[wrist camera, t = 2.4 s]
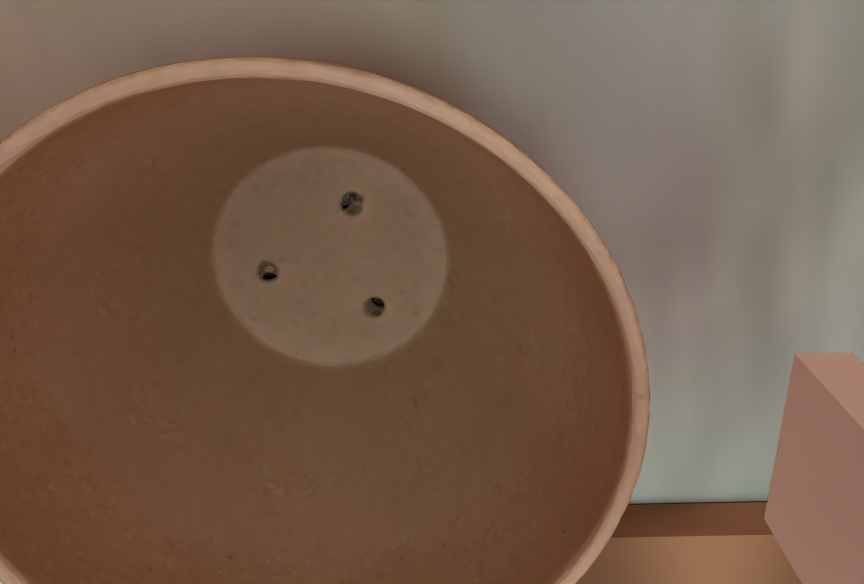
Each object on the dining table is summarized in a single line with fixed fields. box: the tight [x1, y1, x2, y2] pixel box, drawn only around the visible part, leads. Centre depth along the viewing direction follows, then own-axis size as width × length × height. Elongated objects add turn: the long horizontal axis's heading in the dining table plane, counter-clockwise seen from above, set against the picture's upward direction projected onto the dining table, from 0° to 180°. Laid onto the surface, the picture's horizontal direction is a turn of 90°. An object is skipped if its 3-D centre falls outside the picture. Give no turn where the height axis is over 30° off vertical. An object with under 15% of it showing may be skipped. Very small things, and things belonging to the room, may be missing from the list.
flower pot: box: [0, 57, 650, 584], centre depth 14 cm, size 10×10×7 cm
